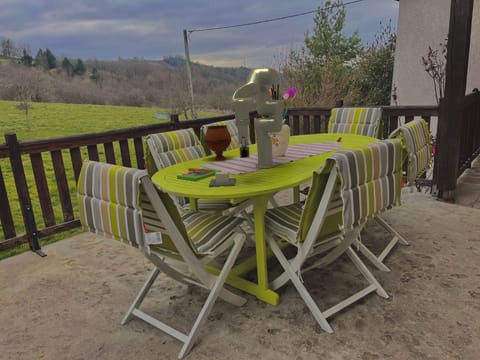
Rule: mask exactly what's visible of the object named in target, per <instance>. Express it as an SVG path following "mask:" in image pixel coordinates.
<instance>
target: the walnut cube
mask: <svg viewBox="0 0 480 360" xmlns="http://www.w3.org/2000/svg"><path fill="white" fill-rule="evenodd" d="M241 150H242V147H241V146H240V147H239V158H240V159H242V158H243V159H244V158H245V159H247V158H250V146H247V153H248V157H242V153H241Z"/></svg>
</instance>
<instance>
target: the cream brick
mask: <svg viewBox="0 0 480 360" xmlns="http://www.w3.org/2000/svg"><path fill="white" fill-rule="evenodd" d="M214 176H215V179H216V183H226V182H229V178H230V173H229V171H221V172H216V174H215V175H214Z"/></svg>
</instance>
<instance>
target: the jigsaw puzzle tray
mask: <svg viewBox="0 0 480 360" xmlns="http://www.w3.org/2000/svg"><path fill="white" fill-rule="evenodd" d="M187 171H188V172H187V173H182V174H179V175H177V176H176V179H177V180H184V181H191V182H195V183H196V182H198V181H201V180H206V179H208V178H210V177H213V176H215V174H216V172H222V170H220V169H214V168H213V169H212V168H206V167H203V168H195V167H188V169H187Z"/></svg>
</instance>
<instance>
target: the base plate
mask: <svg viewBox="0 0 480 360" xmlns="http://www.w3.org/2000/svg"><path fill="white" fill-rule="evenodd" d="M236 180H237V178H236V177H229V182H226V183H216V178H212V179H211V180H210V182H209V184H208V188H219V187H220V186H224V187H235V186H236ZM220 188H221V187H220Z"/></svg>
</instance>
